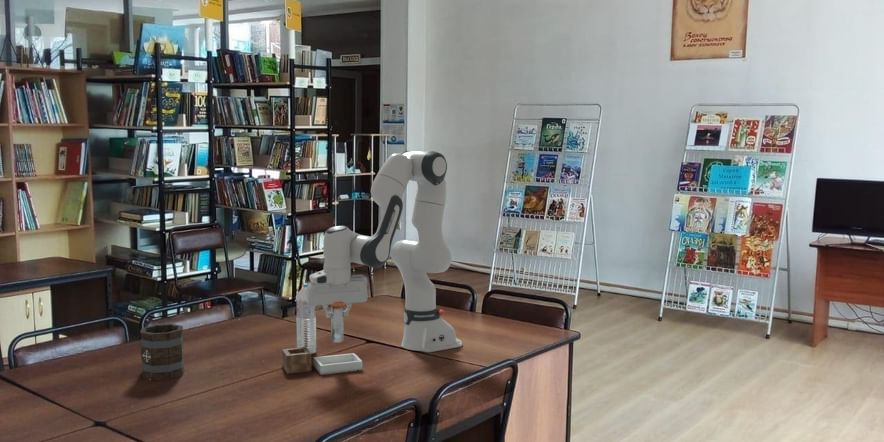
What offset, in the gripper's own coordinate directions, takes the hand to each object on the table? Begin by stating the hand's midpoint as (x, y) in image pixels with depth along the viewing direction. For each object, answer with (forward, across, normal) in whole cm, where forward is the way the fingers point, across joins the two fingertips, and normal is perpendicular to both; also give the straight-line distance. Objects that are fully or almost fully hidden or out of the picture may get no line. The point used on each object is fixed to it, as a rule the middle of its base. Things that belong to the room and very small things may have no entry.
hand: (337, 316), depth 254 cm
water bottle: (+18, +6, -21) cm, 28 cm away
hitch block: (+18, +13, -4) cm, 22 cm away
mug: (+18, +55, -17) cm, 60 cm away
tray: (+18, 0, 0) cm, 18 cm away
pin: (+8, 0, 0) cm, 8 cm away
